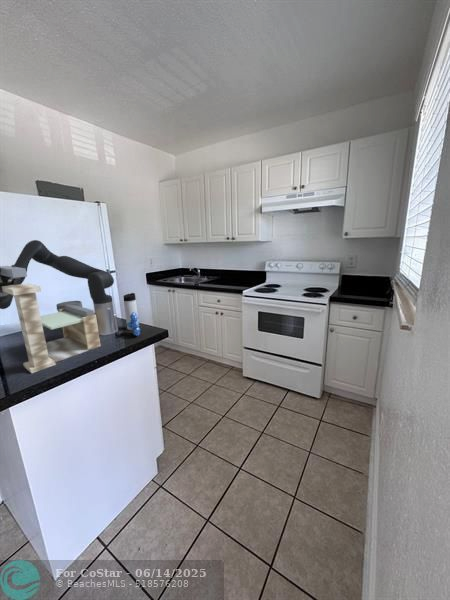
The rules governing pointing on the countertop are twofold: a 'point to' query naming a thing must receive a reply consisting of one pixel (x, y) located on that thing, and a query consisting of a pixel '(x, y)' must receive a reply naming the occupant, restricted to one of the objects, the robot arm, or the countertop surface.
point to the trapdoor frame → (75, 339)
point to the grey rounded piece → (61, 305)
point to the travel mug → (130, 306)
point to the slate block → (13, 271)
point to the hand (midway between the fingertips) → (6, 267)
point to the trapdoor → (66, 317)
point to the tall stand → (31, 326)
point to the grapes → (134, 324)
